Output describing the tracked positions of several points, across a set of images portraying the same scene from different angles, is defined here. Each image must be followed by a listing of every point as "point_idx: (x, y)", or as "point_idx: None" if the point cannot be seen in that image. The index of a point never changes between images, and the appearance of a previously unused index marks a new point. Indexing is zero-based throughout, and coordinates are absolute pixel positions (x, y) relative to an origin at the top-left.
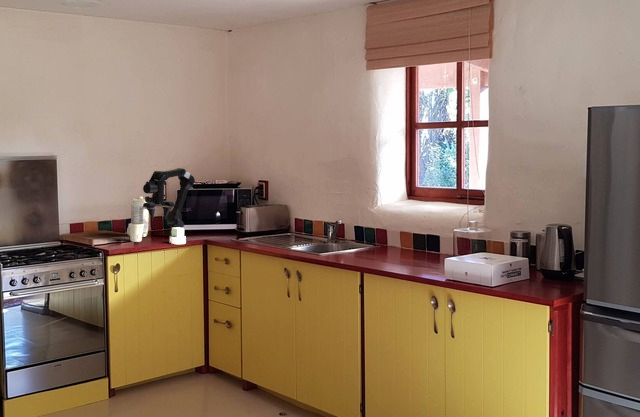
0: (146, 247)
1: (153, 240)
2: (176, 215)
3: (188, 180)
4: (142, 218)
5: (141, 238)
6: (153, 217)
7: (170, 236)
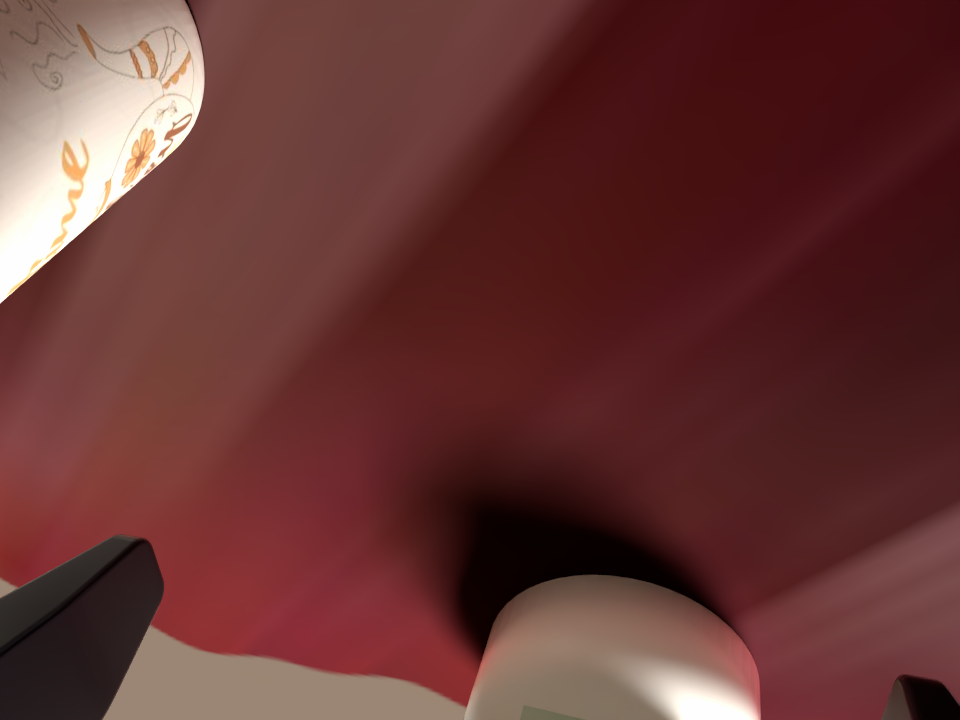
0: None
1: (467, 226)
2: None
3: None
4: None
5: (156, 165)
6: (93, 713)
7: (507, 694)
